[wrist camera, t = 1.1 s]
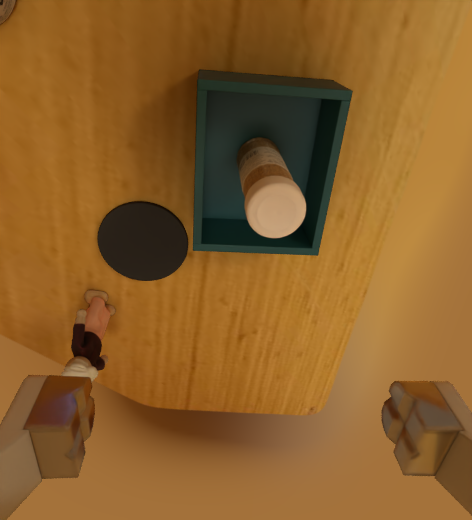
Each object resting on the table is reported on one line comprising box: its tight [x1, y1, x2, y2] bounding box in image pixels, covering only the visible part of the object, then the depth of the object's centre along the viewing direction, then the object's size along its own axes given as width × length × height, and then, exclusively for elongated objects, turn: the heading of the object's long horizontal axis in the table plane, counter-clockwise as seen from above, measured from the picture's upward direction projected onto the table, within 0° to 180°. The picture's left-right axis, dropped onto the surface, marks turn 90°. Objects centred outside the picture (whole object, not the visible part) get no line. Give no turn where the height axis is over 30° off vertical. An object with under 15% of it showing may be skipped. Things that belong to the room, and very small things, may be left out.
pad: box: [98, 202, 188, 281], centre depth 46 cm, size 10×10×1 cm
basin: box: [193, 70, 353, 255], centre depth 39 cm, size 16×13×6 cm
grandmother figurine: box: [62, 290, 116, 383], centre depth 45 cm, size 8×4×13 cm, turn 22°
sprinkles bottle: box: [237, 137, 306, 238], centre depth 36 cm, size 5×5×13 cm
